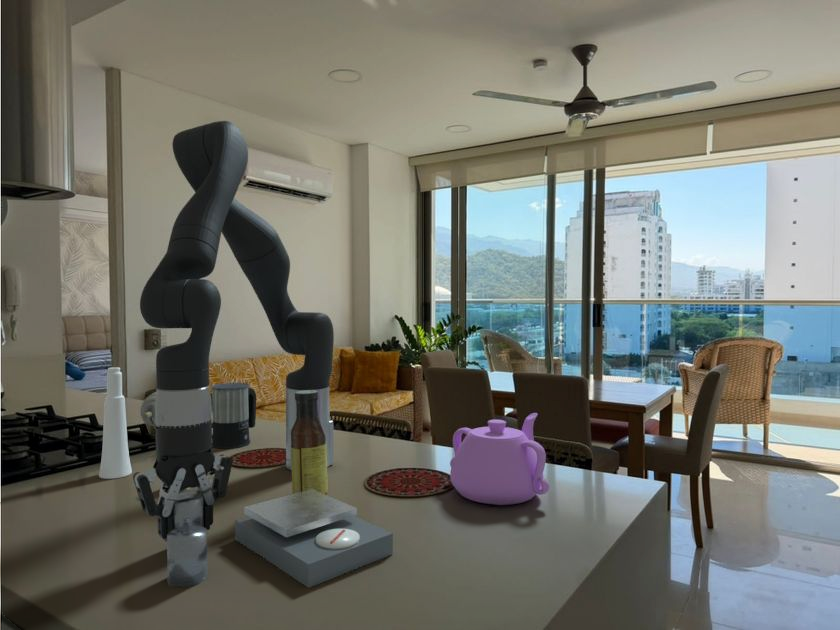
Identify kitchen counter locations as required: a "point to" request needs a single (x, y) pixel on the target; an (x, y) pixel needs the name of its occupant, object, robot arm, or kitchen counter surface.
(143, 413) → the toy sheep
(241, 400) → the milk frother
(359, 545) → the scale
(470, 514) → the kitchen counter surface
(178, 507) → the cylinder
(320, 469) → the sauce bottle
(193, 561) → the cylinder
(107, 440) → the cosmetic bottle
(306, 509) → the pan
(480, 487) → the teapot
